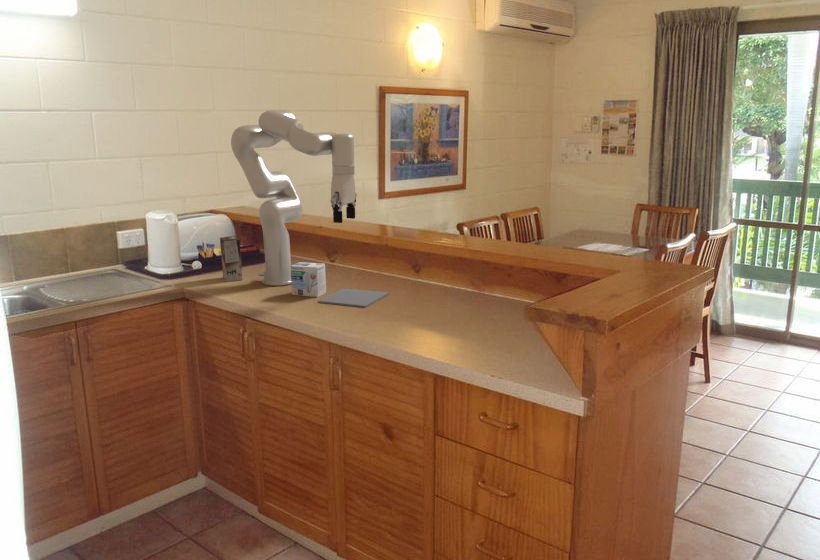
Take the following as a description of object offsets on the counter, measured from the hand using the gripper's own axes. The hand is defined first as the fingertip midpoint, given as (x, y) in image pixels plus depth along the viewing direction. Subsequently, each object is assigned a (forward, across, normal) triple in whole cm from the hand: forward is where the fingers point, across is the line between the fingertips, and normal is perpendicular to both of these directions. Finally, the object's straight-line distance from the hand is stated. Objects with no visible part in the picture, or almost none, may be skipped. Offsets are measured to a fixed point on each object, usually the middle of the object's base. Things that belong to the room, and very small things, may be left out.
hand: (344, 220), depth 237 cm
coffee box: (+27, -6, -53) cm, 60 cm away
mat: (+26, +6, +6) cm, 27 cm away
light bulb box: (+27, +5, -12) cm, 30 cm away
